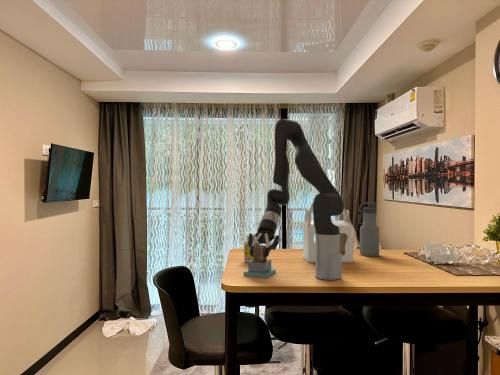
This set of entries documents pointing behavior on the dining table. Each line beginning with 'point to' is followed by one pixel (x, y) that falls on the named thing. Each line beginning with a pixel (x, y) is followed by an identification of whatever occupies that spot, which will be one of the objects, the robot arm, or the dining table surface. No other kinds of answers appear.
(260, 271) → the square socket frame
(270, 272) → the plate
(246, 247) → the supplement bottle
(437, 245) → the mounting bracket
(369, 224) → the water bottle
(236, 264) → the dining table surface
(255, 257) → the rail post
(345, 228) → the gable box
